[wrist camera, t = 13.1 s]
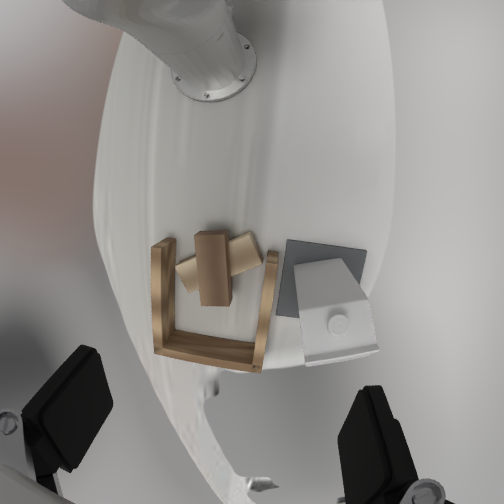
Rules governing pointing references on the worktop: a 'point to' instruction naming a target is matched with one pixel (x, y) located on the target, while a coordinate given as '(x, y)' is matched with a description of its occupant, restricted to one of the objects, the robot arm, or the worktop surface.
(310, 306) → the milk carton
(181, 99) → the worktop surface
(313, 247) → the mat
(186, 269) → the offcut lower
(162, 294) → the rack
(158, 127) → the worktop surface
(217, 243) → the offcut upper
